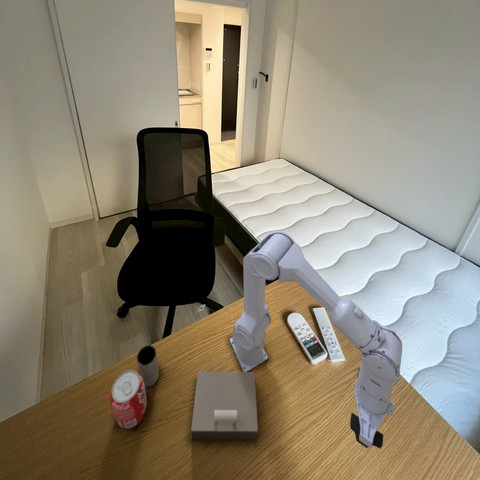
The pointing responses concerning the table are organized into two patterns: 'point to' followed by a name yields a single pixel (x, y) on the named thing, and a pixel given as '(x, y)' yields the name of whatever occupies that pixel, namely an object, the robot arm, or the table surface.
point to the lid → (225, 402)
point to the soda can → (128, 399)
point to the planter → (148, 365)
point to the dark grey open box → (223, 435)
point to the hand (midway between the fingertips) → (364, 420)
